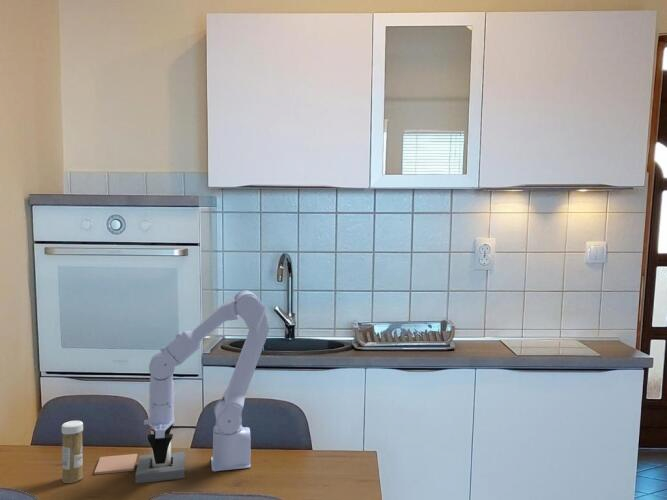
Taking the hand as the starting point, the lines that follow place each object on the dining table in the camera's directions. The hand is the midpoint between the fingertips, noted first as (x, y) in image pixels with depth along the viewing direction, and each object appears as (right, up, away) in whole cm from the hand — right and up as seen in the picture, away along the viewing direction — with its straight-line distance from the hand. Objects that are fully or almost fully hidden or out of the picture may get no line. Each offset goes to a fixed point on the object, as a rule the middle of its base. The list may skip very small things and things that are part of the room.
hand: (161, 456), depth 129 cm
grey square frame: (0, -4, 0) cm, 4 cm away
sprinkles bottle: (-19, -4, -5) cm, 20 cm away
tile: (-12, -3, +3) cm, 13 cm away
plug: (0, -4, 0) cm, 4 cm away
